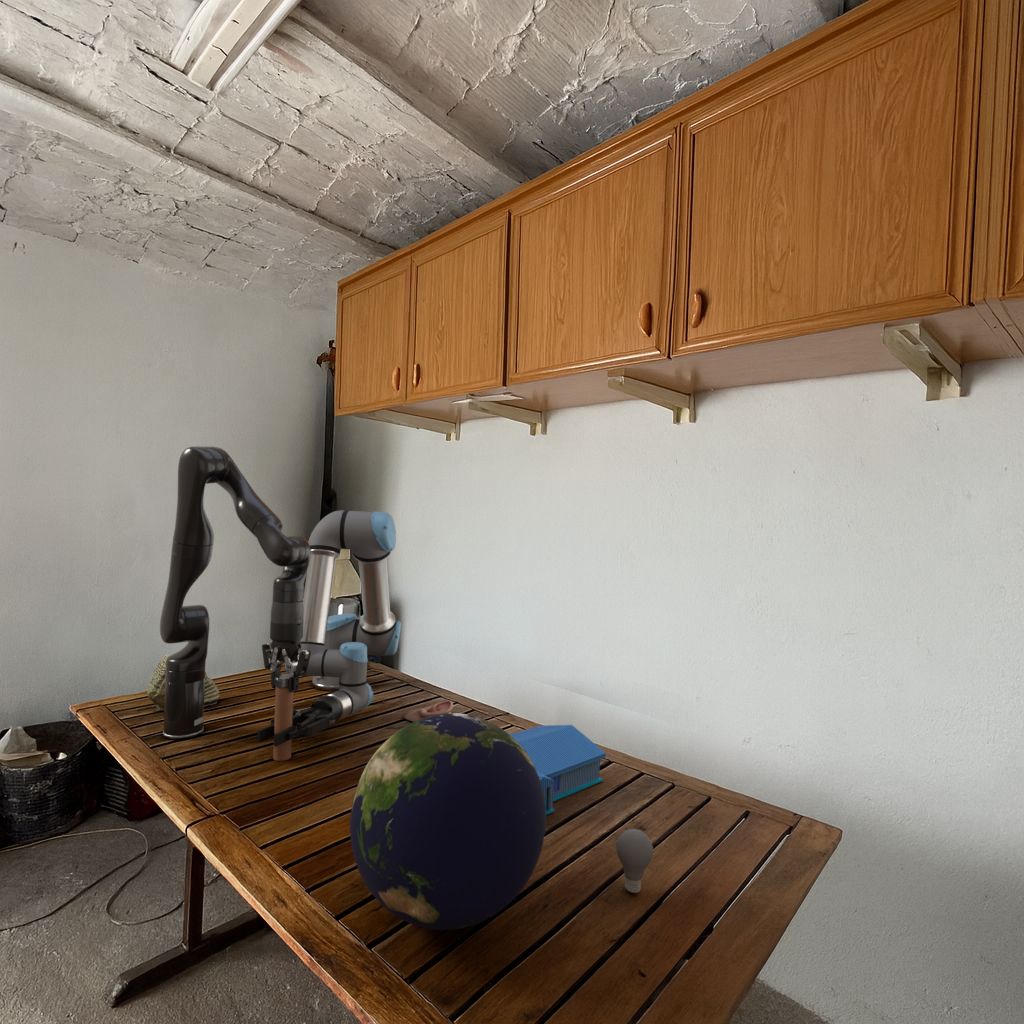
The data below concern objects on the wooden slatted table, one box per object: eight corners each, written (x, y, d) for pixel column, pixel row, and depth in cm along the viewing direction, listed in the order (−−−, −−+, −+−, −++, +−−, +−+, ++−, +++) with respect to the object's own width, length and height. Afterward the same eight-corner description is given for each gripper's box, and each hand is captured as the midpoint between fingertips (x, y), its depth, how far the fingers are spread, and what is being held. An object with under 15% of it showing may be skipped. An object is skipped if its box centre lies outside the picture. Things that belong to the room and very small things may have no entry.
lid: (269, 685, 151) (270, 676, 151) (285, 680, 156) (286, 672, 156) (283, 689, 149) (284, 680, 149) (299, 684, 153) (300, 675, 153)
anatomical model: (400, 707, 180) (414, 695, 191) (399, 721, 180) (414, 708, 191) (445, 712, 177) (456, 700, 189) (444, 726, 177) (456, 713, 189)
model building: (482, 842, 118) (484, 789, 118) (409, 793, 137) (411, 747, 136) (614, 785, 145) (616, 742, 145) (538, 751, 163) (540, 712, 163)
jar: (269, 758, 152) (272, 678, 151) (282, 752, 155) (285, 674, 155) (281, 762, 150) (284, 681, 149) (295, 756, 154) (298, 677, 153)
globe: (302, 941, 90) (310, 732, 90) (412, 840, 118) (419, 680, 117) (494, 1014, 79) (505, 776, 78) (565, 883, 107) (574, 707, 106)
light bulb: (610, 879, 108) (613, 822, 108) (644, 879, 109) (647, 822, 109) (619, 902, 102) (622, 840, 102) (655, 901, 103) (658, 840, 103)
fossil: (144, 707, 182) (145, 655, 182) (212, 696, 194) (213, 647, 194) (151, 716, 175) (153, 662, 175) (221, 703, 188) (223, 653, 188)
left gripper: (253, 618, 152) (250, 688, 152) (297, 625, 146) (295, 699, 146) (277, 613, 159) (274, 681, 159) (321, 620, 152) (318, 690, 153)
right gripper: (356, 728, 166) (295, 761, 144) (303, 717, 173) (237, 747, 151) (358, 700, 166) (297, 729, 144) (304, 690, 172) (238, 716, 151)
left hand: (284, 689), depth 152 cm, fingers open, 5 cm apart
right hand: (267, 738), depth 148 cm, fingers closed on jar, 4 cm apart
